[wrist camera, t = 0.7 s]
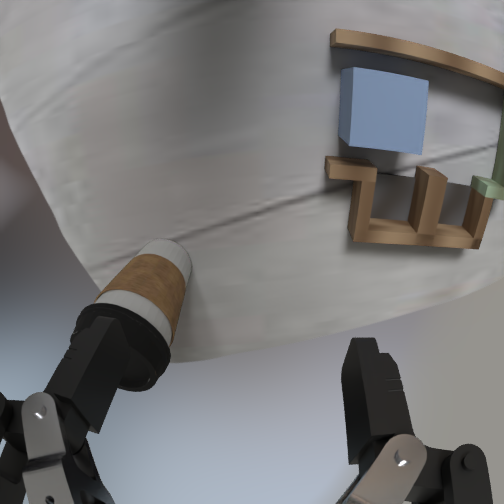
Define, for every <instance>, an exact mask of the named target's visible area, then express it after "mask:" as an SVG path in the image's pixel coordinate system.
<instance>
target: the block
mask: <svg viewBox="0 0 504 504" xmlns="http://www.w3.org/2000/svg"><path fill="white" fill-rule="evenodd" d="M428 85H429V81H427V80H423V79H419V78H414V77H409V76H405V75H400V74H395V73H389V72H384V71H378V70H371V69H365V68H358V67H351V68H346V69H341V90H340V113H339V130H338V135H339V136H340V137H341V138H342V139H343V140H344V141H345V142H346V143H347V144H348V145H349V146H355V147H365V148H374V149H382V150H390V151H398V152H405V153H412V154H418V155H422V148H423V140H424V132H425V122H426V112H427V100H428Z"/></svg>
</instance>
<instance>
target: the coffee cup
mask: <svg viewBox="0 0 504 504" xmlns="http://www.w3.org/2000/svg"><path fill="white" fill-rule="evenodd" d="M191 268H192V267H191V260H190V257H189V255H188V253H187V252H186V251H185V249H184V248H183V247H182V246H180V245H179V244H177V243H176V242H173V241H171V240H168V239H156V240H152V241H151V242H149V243H148V244H146V245H145V246H144V247H143V248H142V250H141V251H140V252H139V253H138V254H137V255H136V256H135V257H134V258H133V259H132V260H131V261H130V262H129V263H128V264H127V265H126V266H125V267H124V268H123V269H122V270H121V271H120V272H119V273H118V275H117V276H116V277H115V278H114V279H113V280H112V281H111V282H110V283H109V284H108V285H107V286H106V287H105V288H104V289H103V291H102V292H101V293H100V294H99V295H98V296H97V297H96V299H95V301H94V304H91V305H89V306H87V307H85V308H84V309H83V310H82V311H81V313H80V315H79V317H78V319H77V321H76V327H75V330H74V332H73V334H72V335H71V339H70V342H71V343H72V341H73V340H74V338H75V336H77V335H78V334H79V333H80V332H81V331H83V330H84V329H85V328H90V327H91V325H92V323H93V322H94V320H95V319H96V318H97V317H98V316H103V317H109V318H116V319H118V320H119V321H120V323H121V326H122V329H123V331H124V334H125V337H126V340H127V342H128V345H129V348H130V358H129V362H128V364H127V367H126V369H125V371H124V374H123V376H122V378H121V381H120V383H119V385H118V388H119V389H123V390H127V391H133V392H141V391H146V390H148V389H150V388H152V386H154V385H155V383H156V381H157V380H158V378H159V377H160V376H161V375H162V374H163V373H164V372H165V370H166V368H167V366H168V364H169V362H170V357H171V354H170V349H169V347H170V346H171V344H172V342H173V339H174V335H175V331H176V327H177V322H178V318H179V314H180V310H181V306H182V302H183V299H184V295H185V290H186V286H187V283H188V280H189V276H190V273H191Z"/></svg>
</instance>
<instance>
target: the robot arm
mask: <svg viewBox="0 0 504 504" xmlns="http://www.w3.org/2000/svg"><path fill="white" fill-rule="evenodd" d="M129 358H130V348H129V345H128V342H127V340H126V337H125V334H124V331H123V329H122V326H121V323H120V321H119V320H118V319H116V318H109V317H103V316H98V317H97V318H96V319H95V320H94V322H93V323H92V325H91V327H90V328H85V329H84V330H83V331H81V332H80V333H79V334H78V335H77V336H75V338H74V340H73V341H72V343H71V345H70V346H69V350H67V351H66V353H65V355H64V358H63V359H62V360H61V362H60V363H59V365H58V367H57V368H56V370H55V372H54V374H53V376H52V377H51V379H50V381H49V383H48V385H47V387H46V388H45V390H44V391H43V392H37V393H34V394H32V395H30V396H29V397H28V398H27V399H26V400H25V401H19V400H7V399H6V398H5V397H4V395H3V394H2V393H1V392H0V443H1V441H2V438H3V439H4V440H5V441H6V444H5V447H4V449H3V452H2V454H1V457H0V504H23V500H24V496H25V493H27V497H28V500H29V504H115V503H114V500H113V498H112V496H111V495H110V493H109V492H108V490H107V489H106V488H105V486H104V485H103V483H102V481H101V479H100V476H99V473H98V471H97V468H96V465H95V462H94V459H93V456H92V453H91V450H90V447H89V444H88V441H87V439H86V435H87V432H88V431H91V432H94V433H97V434H99V432H100V430H101V427H102V425H103V422H104V419H105V417H106V414H107V412H108V409H109V407H110V405H111V402H112V400H113V397H114V395H115V392H116V390H117V388H118V385H119V383H120V381H121V378H122V376H123V374H124V371H125V369H126V367H127V364H128V362H129ZM400 378H401V377H400V374H399V370H398V366H397V364H396V362H395V361H394V360H393V358H392V357H391V356H390V355H389V353H379V349H378V346H377V342H376V339H375V338H352V339H351V342H350V345H349V348H348V351H347V354H346V357H345V360H344V363H343V367H342V373H341V383H342V392H343V401H344V411H345V422H346V434H347V446H348V460H349V465H350V464H351V465H352V464H359V474H358V475H357V477H356V478H355V479H354V481H353V482H352V483H351V485H350V486H349V487H348V489H347V490H346V491H345V492H344V494H343V495H342V496H341V497H340V499H339V500H338V501H337V502H336V504H402V503H403V502H404V501H409V502H412V504H493V500H492V492H491V485H490V479H489V473H488V467H487V462H486V457H485V455H484V453H483V451H482V450H481V449H480V448H479V447H478V446H475V445H473V444H465V445H461V446H459V447H458V448H457V449H456V450H454V451H450V450H442V449H436V448H431V447H428V446H426V445H424V444H423V443H422V441H421V440H419V439H418V438H417V437H416V436H415V434H414V432H413V429H412V424H411V420H410V415H409V410H408V406H407V402H406V398H405V393H404V391H403V385H402V381H401V380H400Z"/></svg>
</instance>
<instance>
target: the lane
mask: <svg viewBox="0 0 504 504" xmlns="http://www.w3.org/2000/svg"><path fill="white" fill-rule="evenodd" d="M330 47H337V48H346V49H353V50H360V51H367V52H373V53H379V54H384V55H390V56H395V57H399V58H404V59H409V60H413V61H417V62H421V63H425V64H429V65H433V66H436V67H440V68H444V69H447V70H450V71H454V72H457V73H460V74H463V75H466V76H469V77H472V78H475V79H478V80H481V81H483V82H486V83H489V84H491V85H494V86H497V87H499V88H501V89H504V73H503V72H500V71H498V70H495V69H493V68H491V67H488V66H486V65H483V64H481V63H478V62H475V61H473V60H470V59H467V58H464V57H461V56H458V55H455V54H452V53H449V52H446V51H443V50H439V49H436V48H432V47H429V46H425V45H421V44H418V43H414V42H410V41H405V40H401V39H396V38H392V37H387V36H382V35H377V34H371V33H365V32H359V31H352V30H345V29H335V30H334V31H333V32H332V33H331V34H330ZM325 170H326V172H327V175H328V177H329V178H331V179H345V180H354V181H353V189H352V197H351V205H350V212H349V220H348V230H349V232H350V235H351V237H352V240H353V242H368V243H386V244H403V245H420V246H436V247H451V248H466V249H479V247H480V244H481V241H482V237H483V234H484V231H485V228H486V224H487V221H488V217H489V214H490V210H491V206H492V202H493V199H499V200H504V97H503V109H502V118H501V127H500V135H499V141H498V148H497V154H496V160H495V165H494V170H493V175H492V179H488V178H483V177H478V176H474V175H473V177H472V182H471V186H466V185H461V184H455V183H448V182H447V180H448V178H447V177H446V176H444V175H443V174H441V173H440V172H439V171H437V170H436V169H434V168H428V167H422V166H417V167H416V174H415V178H414V177H406V176H398V175H389V174H380V173H377V168H376V167H375V166H374V165H373V164H372V163H371V162H370V161H369V160H367V159H357V158H346V157H334V156H326V158H325Z"/></svg>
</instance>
